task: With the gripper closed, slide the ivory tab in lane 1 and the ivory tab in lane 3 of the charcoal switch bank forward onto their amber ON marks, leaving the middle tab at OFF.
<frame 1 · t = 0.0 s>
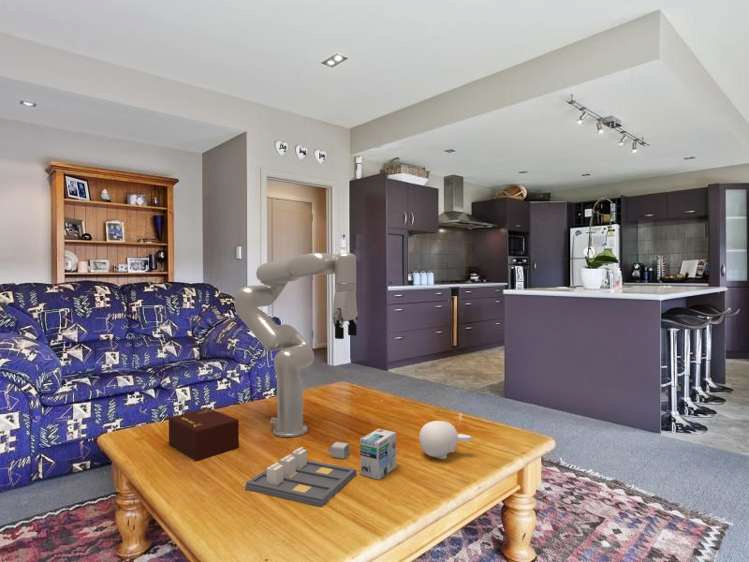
hand: (346, 336, 158), 37 cm above the table, tool pointing down, fingers open, 9 cm apart
usb wall charger: (336, 456, 145), on the table
light bulb box: (378, 471, 134), on the table
box: (205, 447, 155), on the table
tab 3: (299, 457, 134), point 4 cm above the table, slide at 0.0 cm
switch bank: (302, 481, 127), on the table
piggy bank: (444, 456, 145), on the table
tab 2: (287, 465, 129), point 4 cm above the table, slide at 0.0 cm
tab 1: (275, 473, 123), point 4 cm above the table, slide at 0.0 cm
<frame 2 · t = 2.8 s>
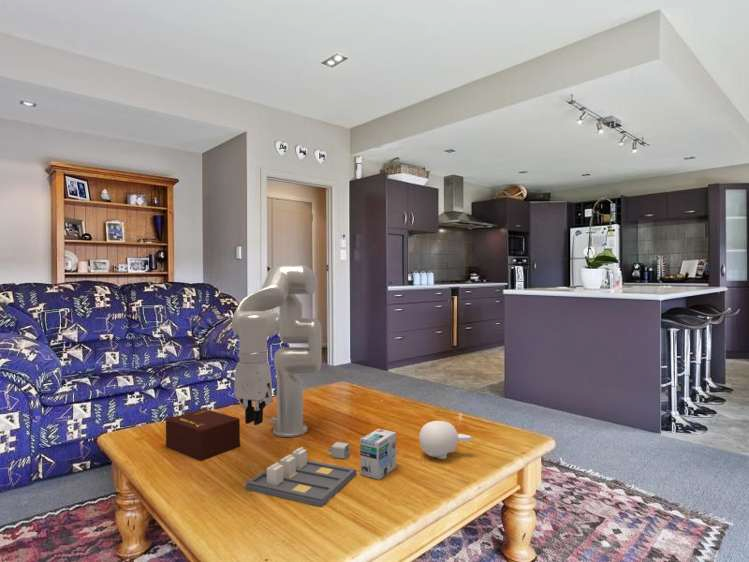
hand: (254, 422, 126), 17 cm above the table, tool pointing down, fingers closed
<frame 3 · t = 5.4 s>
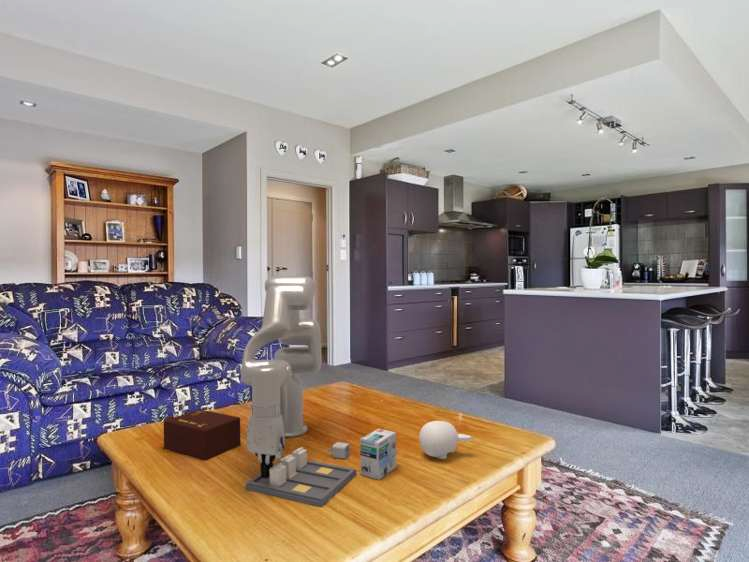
hand: (266, 476, 124), 3 cm above the table, tool pointing down, fingers closed
tab 1: (278, 474, 123), point 4 cm above the table, slide at 1.0 cm, touching gripper
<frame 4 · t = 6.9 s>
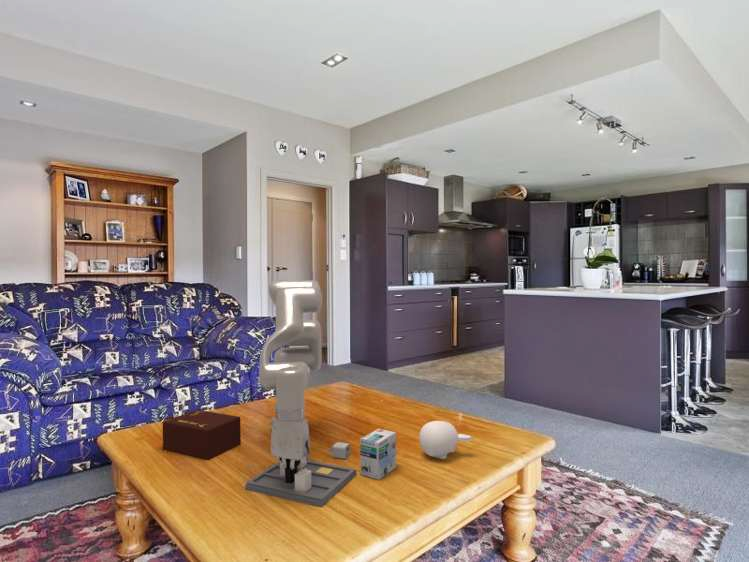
hand: (291, 481, 121), 3 cm above the table, tool pointing down, fingers closed
tab 1: (303, 479, 120), point 4 cm above the table, slide at 9.1 cm, touching gripper
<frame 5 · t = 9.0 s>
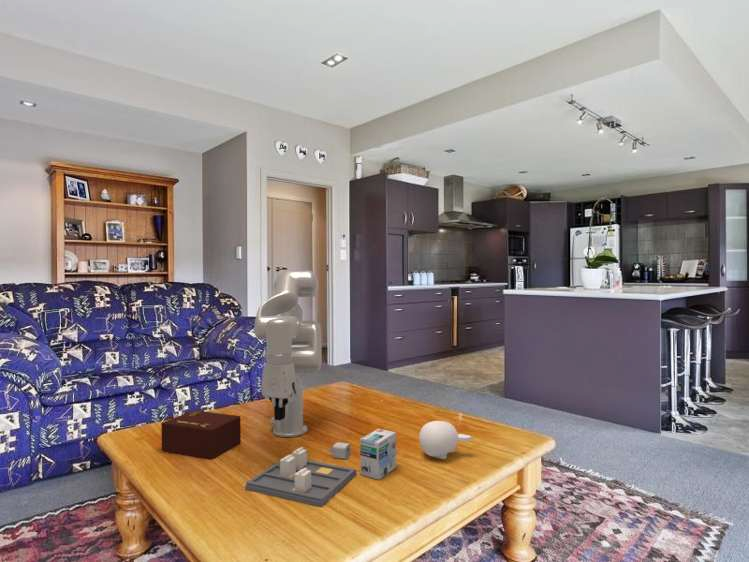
hand: (279, 418, 137), 15 cm above the table, tool pointing down, fingers closed
tab 1: (302, 479, 120), point 4 cm above the table, slide at 9.0 cm
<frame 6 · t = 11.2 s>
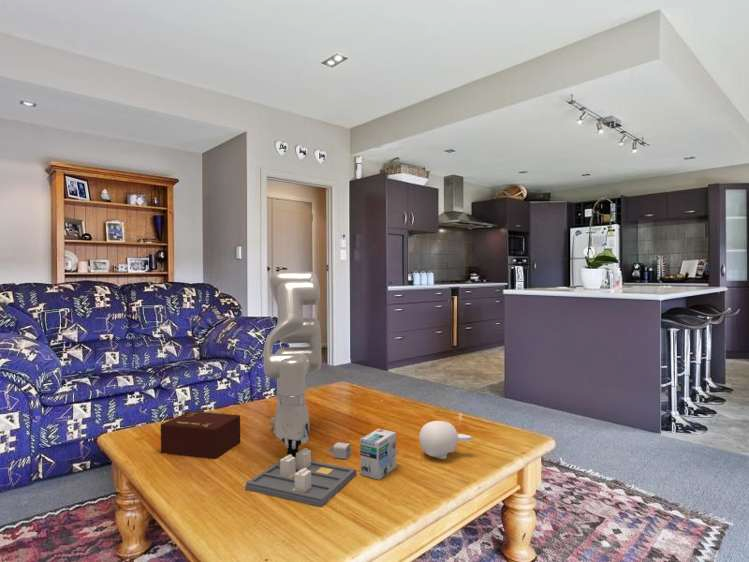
hand: (292, 459, 135), 3 cm above the table, tool pointing down, fingers closed
tab 3: (303, 458, 134), point 4 cm above the table, slide at 1.4 cm, touching gripper
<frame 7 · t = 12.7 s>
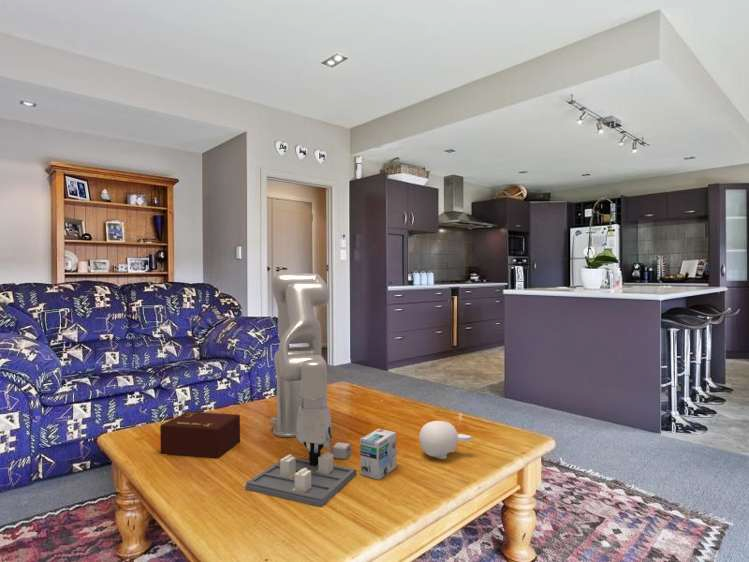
hand: (314, 464, 132), 3 cm above the table, tool pointing down, fingers closed
tab 3: (325, 462, 131), point 4 cm above the table, slide at 9.1 cm, touching gripper
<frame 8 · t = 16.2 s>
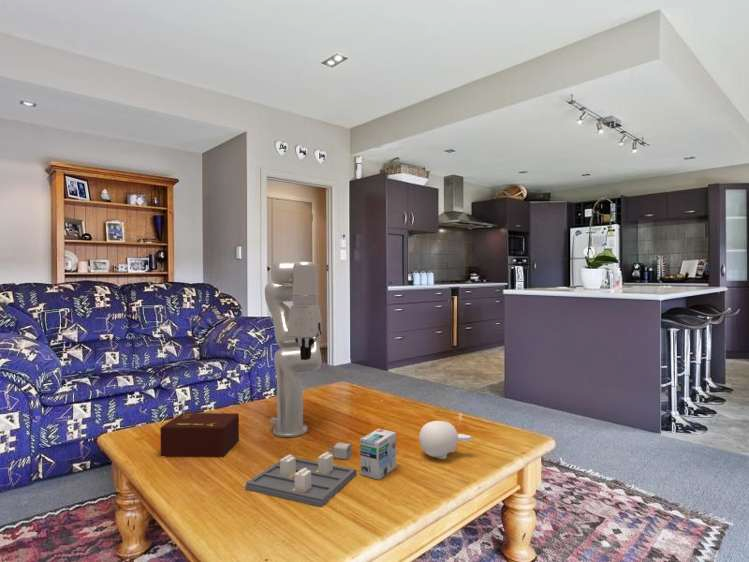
hand: (305, 359, 141), 32 cm above the table, tool pointing down, fingers closed
tab 3: (325, 462, 131), point 4 cm above the table, slide at 9.0 cm
at the end: tab 1 slide at 9.0 cm; tab 3 slide at 9.0 cm; tab 2 slide at 0.0 cm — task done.
